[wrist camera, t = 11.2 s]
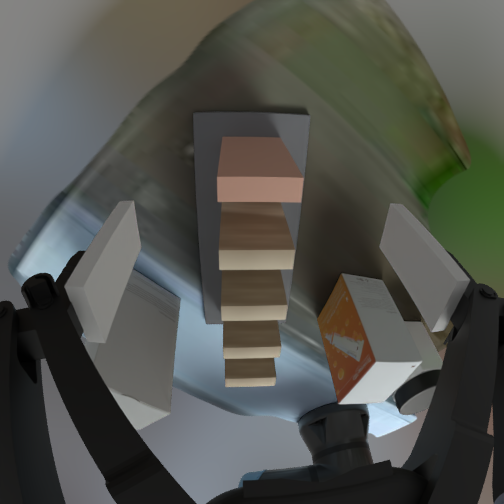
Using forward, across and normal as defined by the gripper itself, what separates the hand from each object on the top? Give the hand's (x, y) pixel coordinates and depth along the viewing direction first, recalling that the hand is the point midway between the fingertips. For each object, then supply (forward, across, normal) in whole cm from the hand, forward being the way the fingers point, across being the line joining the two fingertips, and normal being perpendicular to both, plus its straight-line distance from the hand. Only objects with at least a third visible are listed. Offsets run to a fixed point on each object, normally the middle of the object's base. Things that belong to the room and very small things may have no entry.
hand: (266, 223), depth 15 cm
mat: (+14, 0, +9) cm, 17 cm away
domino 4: (+14, 0, +14) cm, 20 cm away
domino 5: (+14, 0, +20) cm, 24 cm away
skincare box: (+14, +12, +17) cm, 26 cm away
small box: (+15, -13, +18) cm, 27 cm away
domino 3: (+14, 0, +10) cm, 17 cm away
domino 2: (+14, 0, +4) cm, 14 cm away
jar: (+15, -24, +28) cm, 39 cm away
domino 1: (+14, 0, 0) cm, 14 cm away
